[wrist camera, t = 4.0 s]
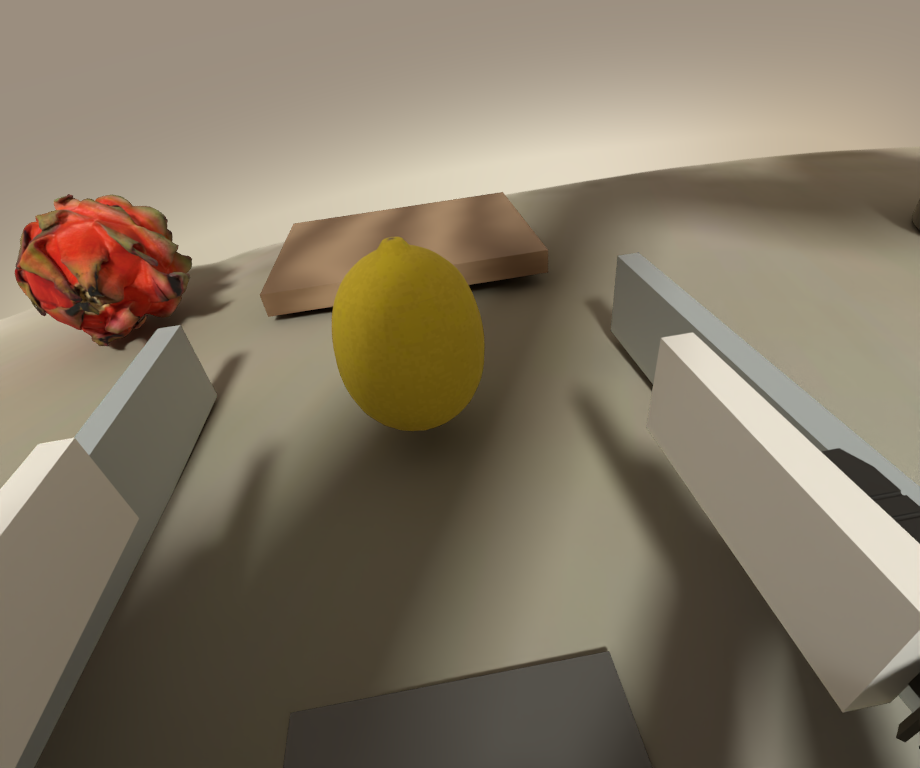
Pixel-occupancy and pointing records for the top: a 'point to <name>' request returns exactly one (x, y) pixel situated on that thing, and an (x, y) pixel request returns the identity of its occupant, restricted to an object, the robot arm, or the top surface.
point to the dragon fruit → (101, 265)
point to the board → (427, 225)
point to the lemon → (407, 336)
